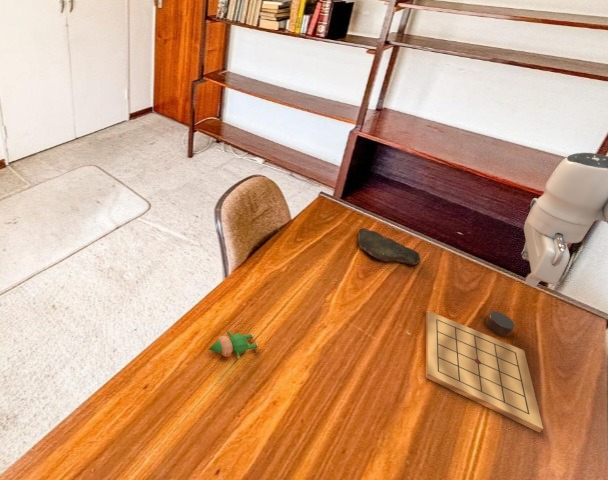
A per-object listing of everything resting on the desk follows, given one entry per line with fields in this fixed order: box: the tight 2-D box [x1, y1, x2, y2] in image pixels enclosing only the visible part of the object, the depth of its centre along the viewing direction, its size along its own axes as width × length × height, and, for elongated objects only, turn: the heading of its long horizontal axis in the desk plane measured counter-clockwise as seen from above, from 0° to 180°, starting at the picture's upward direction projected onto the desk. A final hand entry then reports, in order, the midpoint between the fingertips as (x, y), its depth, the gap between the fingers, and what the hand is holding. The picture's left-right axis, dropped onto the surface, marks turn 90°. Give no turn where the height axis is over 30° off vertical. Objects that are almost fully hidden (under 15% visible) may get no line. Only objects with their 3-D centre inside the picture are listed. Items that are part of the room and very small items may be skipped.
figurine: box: [208, 329, 259, 360], centre depth 93 cm, size 4×7×12 cm
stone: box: [357, 227, 421, 266], centre depth 124 cm, size 18×11×3 cm, turn 49°
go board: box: [425, 310, 544, 434], centre depth 93 cm, size 20×20×2 cm
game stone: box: [485, 311, 516, 337], centre depth 102 cm, size 5×5×3 cm
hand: (527, 270), depth 90 cm, fingers open, 8 cm apart
